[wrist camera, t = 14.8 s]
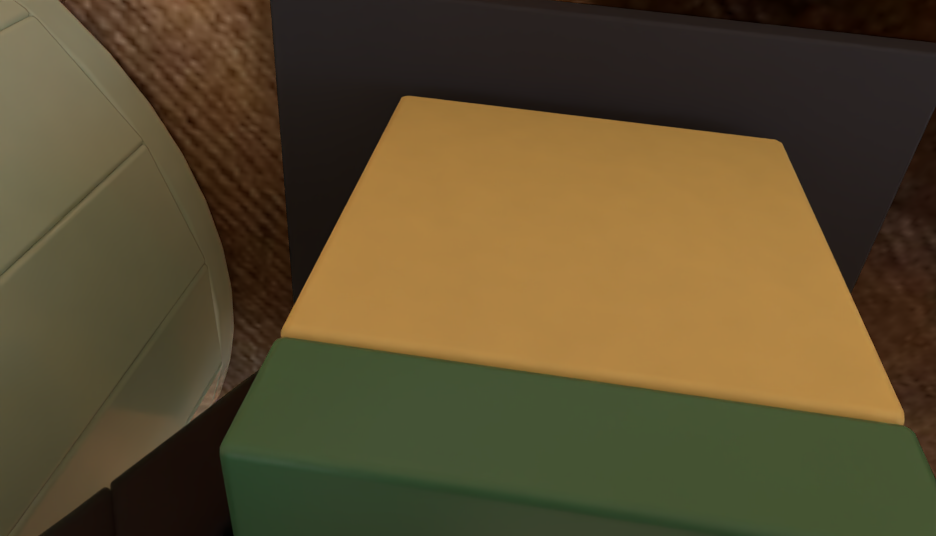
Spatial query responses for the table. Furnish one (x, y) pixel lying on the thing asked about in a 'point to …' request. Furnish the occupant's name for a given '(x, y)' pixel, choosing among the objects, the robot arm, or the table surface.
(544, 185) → the sponge
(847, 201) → the mat
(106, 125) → the bowl
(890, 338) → the table surface
